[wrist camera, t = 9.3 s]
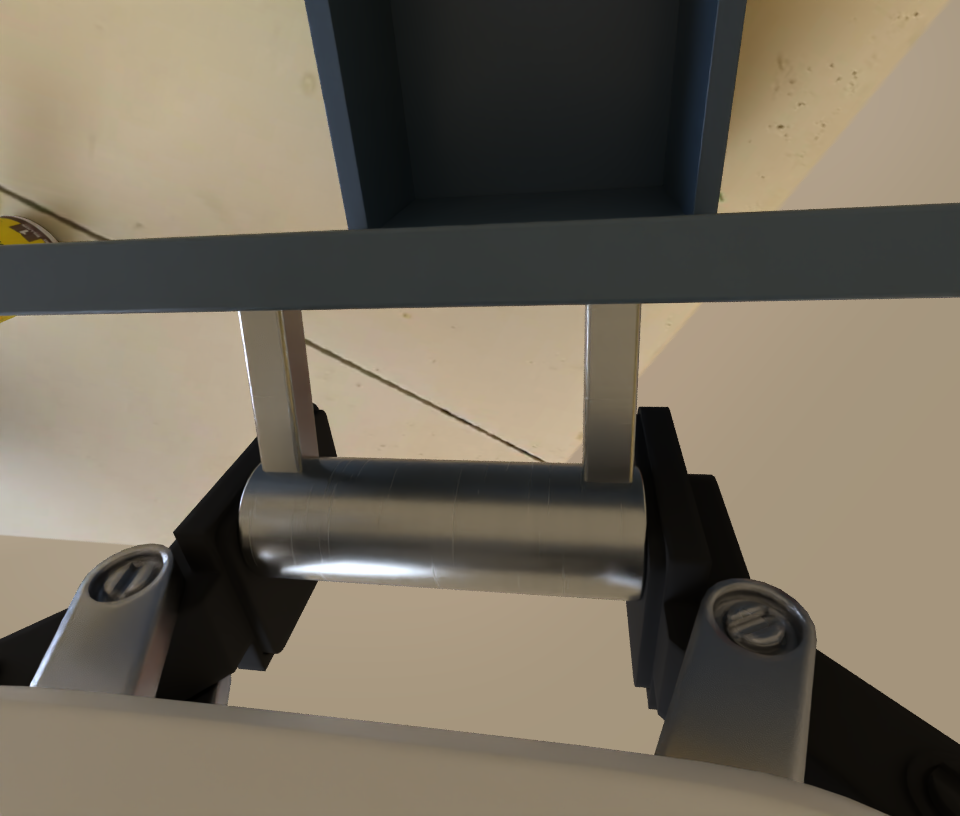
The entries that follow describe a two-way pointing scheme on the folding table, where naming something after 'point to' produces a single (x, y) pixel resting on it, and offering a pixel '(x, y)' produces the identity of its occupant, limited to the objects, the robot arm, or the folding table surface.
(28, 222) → the supplement bottle
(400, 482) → the lid
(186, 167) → the folding table surface
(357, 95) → the compartment
